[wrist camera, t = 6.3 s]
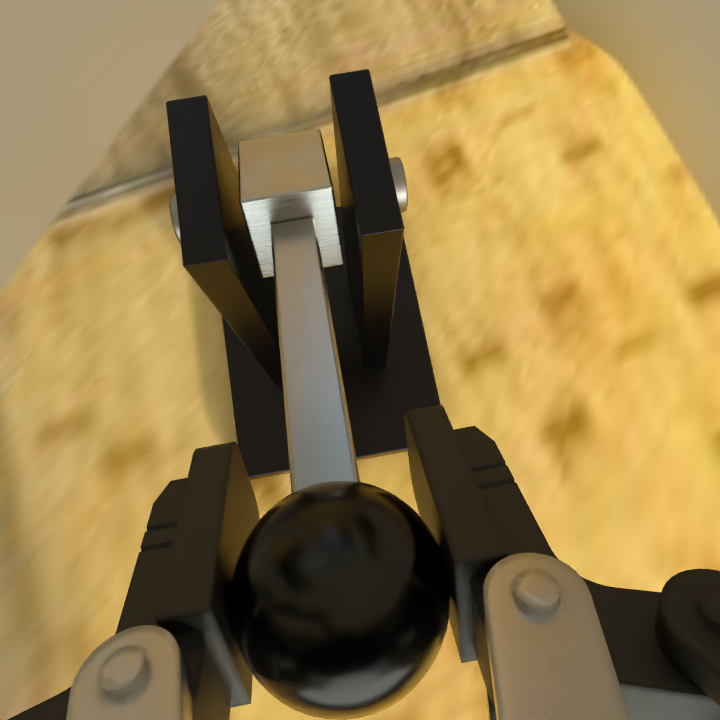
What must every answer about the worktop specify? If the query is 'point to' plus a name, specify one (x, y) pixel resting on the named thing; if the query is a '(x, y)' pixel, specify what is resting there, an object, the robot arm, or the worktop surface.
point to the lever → (325, 484)
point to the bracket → (344, 282)
